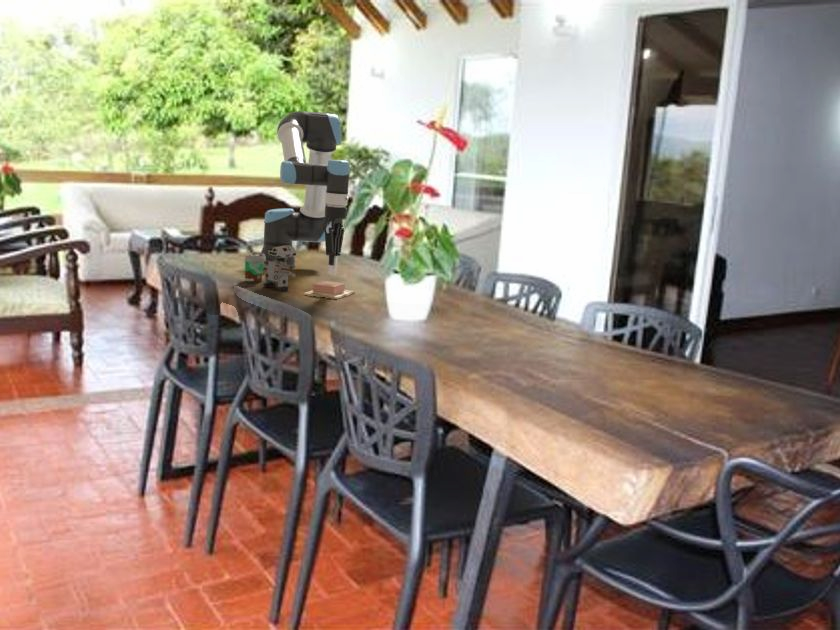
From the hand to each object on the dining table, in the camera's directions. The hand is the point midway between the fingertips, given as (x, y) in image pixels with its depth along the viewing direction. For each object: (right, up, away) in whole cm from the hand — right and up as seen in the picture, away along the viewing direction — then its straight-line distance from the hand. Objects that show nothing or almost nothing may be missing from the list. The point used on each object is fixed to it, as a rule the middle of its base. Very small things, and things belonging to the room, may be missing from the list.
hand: (332, 274), depth 290 cm
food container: (-29, -2, +13) cm, 32 cm away
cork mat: (-1, -7, 0) cm, 7 cm away
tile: (0, -4, +3) cm, 5 cm away
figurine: (-19, -5, +4) cm, 20 cm away
